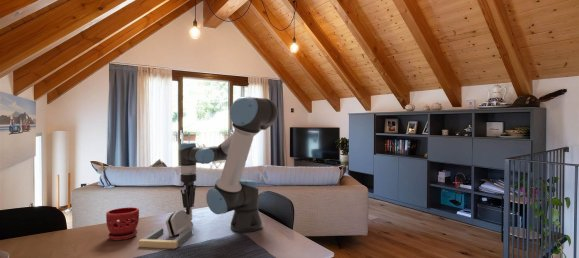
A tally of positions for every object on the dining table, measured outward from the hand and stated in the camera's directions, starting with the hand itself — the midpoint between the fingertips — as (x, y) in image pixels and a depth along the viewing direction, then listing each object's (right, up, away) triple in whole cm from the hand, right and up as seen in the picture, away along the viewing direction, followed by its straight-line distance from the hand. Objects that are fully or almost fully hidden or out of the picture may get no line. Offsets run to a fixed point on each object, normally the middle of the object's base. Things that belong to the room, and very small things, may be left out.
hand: (189, 220), depth 161 cm
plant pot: (-24, -3, -17) cm, 30 cm away
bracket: (-3, -3, -22) cm, 22 cm away
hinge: (-2, -2, -10) cm, 10 cm away
